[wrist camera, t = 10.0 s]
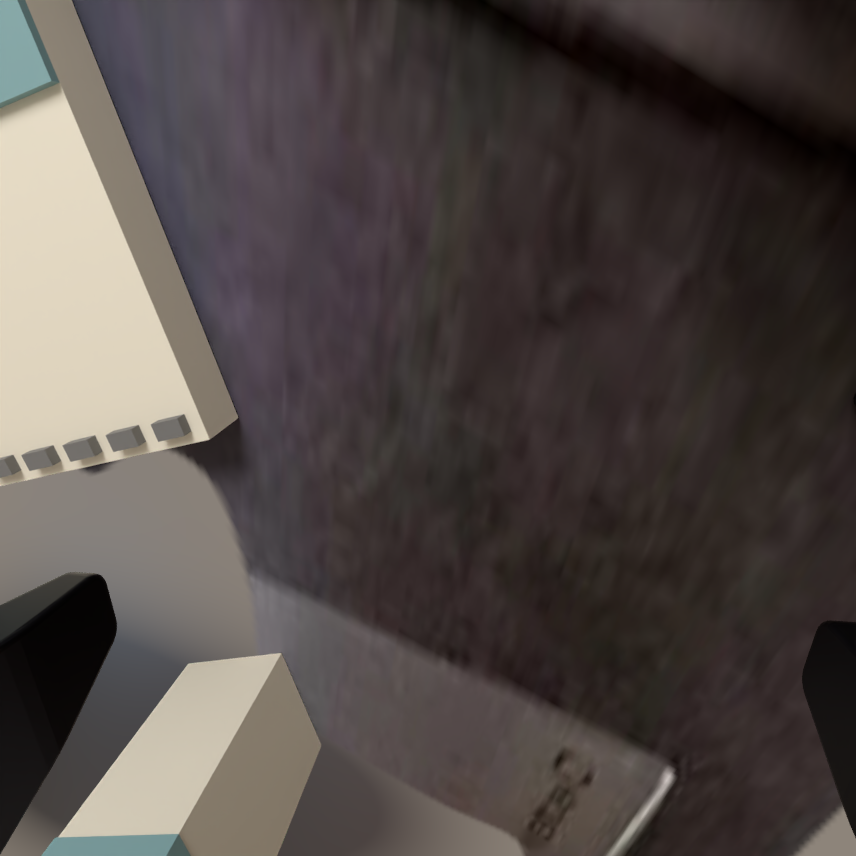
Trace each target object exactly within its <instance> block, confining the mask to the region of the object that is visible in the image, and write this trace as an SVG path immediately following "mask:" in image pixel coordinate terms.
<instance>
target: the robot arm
mask: <svg viewBox="0 0 856 856" xmlns="http://www.w3.org/2000/svg"><path fill="white" fill-rule="evenodd" d="M854 404H855V406H856V394H855V397H854ZM116 631H117V622H116V617H115V613H114V610H113V606H112V602H111V599H110V595H109V591H108V588H107V584H106V581H105V580H104V578H103V577H102V576H101V575H98V574H95V573H80V572H79V573H78V572H70V573H66V574H64V575H62V576H60V577H58V578H56V579H54V580H51V581H49V582H47V583H45V584H43V585H41V586H39V587H37V588H35V589H33V590H31V591H29V592H27V593H25V594H23V595H21V596H18V597H16V598H15V599H12V600H10V601H8V602H7V603H4V604H2V605H0V854H1V852H2V850H3V849H4V847H5V846H6V844H7V842H8V841H9V839H10V837H11V835H12V834H13V832H14V830H15V829H16V827H17V825H18V824H19V822H20V820H21V818H22V817H23V815H24V814H25V812H26V810H27V809H28V807H29V805H30V804H31V802H32V800H33V798H34V797H35V795H36V793H37V792H38V790H39V788H40V787H41V785H42V783H43V781H44V780H45V778H46V777H47V775H48V773H49V772H50V770H51V768H52V766H53V764H54V763H55V761H56V759H57V757H58V756H59V754H60V752H61V750H62V748H63V746H64V744H65V742H66V740H67V738H68V736H69V735H70V732H71V730H72V728H73V726H74V724H75V722H76V720H77V717H78V715H79V714H80V712H81V709H82V707H83V705H84V703H85V701H86V699H87V697H88V695H89V693H90V690H91V688H92V686H93V684H94V682H95V680H96V678H97V676H98V674H99V672H100V669H101V667H102V665H103V663H104V661H105V659H106V657H107V655H108V653H109V651H110V648H111V646H112V644H113V642H114V639H115V636H116ZM802 683H803V689H804V693H805V696H806V699H807V702H808V705H809V708H810V711H811V714H812V717H813V720H814V723H815V726H816V729H817V731H818V734H819V737H820V740H821V743H822V746H823V749H824V752H825V755H826V758H827V761H828V764H829V767H830V770H831V773H832V776H833V778H834V781H835V784H836V787H837V790H838V793H839V796H840V799H841V802H842V804H843V807H844V810H845V812H846V815H847V818H848V820H849V823H850V825H851V828H852V830H853V833H854V835H855V837H856V622H843V621H826V622H823V623H822V624H821V625H820V626H819V627H818V629H817V631H816V634H815V637H814V640H813V643H812V646H811V649H810V651H809V654H808V657H807V660H806V663H805V666H804V669H803V675H802Z"/></svg>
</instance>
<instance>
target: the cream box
mask: <svg viewBox="0 0 856 856" xmlns="http://www.w3.org/2000/svg"><path fill="white" fill-rule="evenodd" d="M320 748H321V743H320V741H319V738H318V736H317V734H316V731H315V729H314V727H313V724H312V722H311V720H310V718H309V715H308V713H307V711H306V708H305V706H304V704H303V701H302V699H301V697H300V695H299V692H298V690H297V688H296V685H295V683H294V681H293V678H292V676H291V674H290V672H289V669H288V667H287V665H286V662H285V660H284V658H283V655H282V653H277V654H269V655H260V656H251V657H243V658H234V659H226V660H217V661H209V662H199V663H190V664H188V665H187V666H186V668H185V669H184V670H183V672H182V673H181V674H180V676H179V677H178V678H177V680H176V681H175V682H174V684H173V685H172V686H171V688H170V689H169V690H168V692H167V693H166V694H165V696H164V697H163V698H162V700H161V701H160V702H159V704H158V705H157V707H156V708H155V709H154V710H153V712H152V713H151V714H150V716H149V717H148V718H147V720H146V721H145V722H144V724H143V725H142V726H141V728H140V729H139V730H138V732H137V733H136V734H135V736H134V737H133V738H132V740H131V741H130V742H129V744H128V745H127V746H126V748H125V749H124V750H123V752H122V753H121V754H120V756H119V757H118V758H117V760H116V761H115V762H114V764H113V765H112V766H111V768H110V769H109V770H108V772H107V773H106V774H105V776H104V777H103V778H102V780H101V781H100V782H99V784H98V785H97V786H96V788H95V789H94V790H93V792H92V793H91V794H90V796H89V797H88V798H87V800H86V801H85V802H84V804H83V805H82V806H81V808H80V809H79V810H78V812H77V813H76V815H75V816H74V817H73V818H72V820H71V821H70V822H69V824H68V825H67V826H66V828H65V829H64V830H63V832H62V833H61V835H60V836H59V837H57V838H55V839H54V840H53V841H52V843H51V844H50V845H49V847H48V848H47V850H46V851H45V852H44V853H43V854H42V856H277V855H278V852H279V849H280V847H281V845H282V842H283V840H284V837H285V835H286V832H287V830H288V827H289V825H290V822H291V820H292V818H293V815H294V813H295V810H296V808H297V805H298V802H299V800H300V798H301V795H302V792H303V790H304V788H305V785H306V783H307V780H308V778H309V775H310V773H311V770H312V768H313V765H314V763H315V760H316V758H317V756H318V753H319V750H320Z"/></svg>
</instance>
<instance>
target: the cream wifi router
mask: <svg viewBox="0 0 856 856" xmlns="http://www.w3.org/2000/svg"><path fill="white" fill-rule="evenodd" d="M236 419H238V415H237V413H236V410H235V408H234V405H233V403H232V400H231V398H230V395H229V393H228V390H227V388H226V385H225V383H224V380H223V378H222V375H221V373H220V370H219V368H218V365H217V363H216V360H215V358H214V355H213V353H212V350H211V348H210V345H209V343H208V340H207V338H206V335H205V333H204V330H203V328H202V325H201V323H200V320H199V318H198V315H197V313H196V310H195V308H194V305H193V303H192V300H191V298H190V295H189V293H188V290H187V288H186V285H185V283H184V280H183V278H182V275H181V273H180V270H179V268H178V265H177V263H176V260H175V258H174V255H173V253H172V250H171V248H170V245H169V243H168V240H167V238H166V235H165V233H164V230H163V228H162V225H161V223H160V220H159V218H158V215H157V213H156V210H155V208H154V205H153V203H152V200H151V198H150V195H149V193H148V190H147V188H146V185H145V183H144V180H143V178H142V175H141V173H140V170H139V167H138V165H137V162H136V160H135V157H134V155H133V152H132V150H131V147H130V145H129V142H128V140H127V137H126V135H125V132H124V130H123V127H122V125H121V122H120V120H119V117H118V115H117V112H116V110H115V107H114V105H113V102H112V100H111V97H110V95H109V92H108V90H107V87H106V85H105V82H104V80H103V77H102V75H101V72H100V70H99V67H98V65H97V62H96V60H95V57H94V55H93V52H92V50H91V47H90V45H89V42H88V40H87V37H86V35H85V32H84V30H83V27H82V25H81V22H80V20H79V17H78V15H77V12H76V10H75V7H74V5H73V2H72V0H0V486H3V485H8V484H12V483H17V482H21V481H26V480H30V479H35V478H39V477H44V476H48V475H53V474H57V473H62V472H66V471H71V470H75V469H80V468H84V467H89V466H93V465H98V464H102V463H107V462H111V461H116V460H120V459H125V458H129V457H134V456H138V455H143V454H147V453H152V452H156V451H161V450H165V449H170V448H174V447H179V446H183V445H188V444H192V443H197V442H201V441H206V440H210V439H211V438H213V437H214V436H215V435H217V434H218V433H219V432H221V431H222V430H223V429H225V428H226V427H227V426H228V425H230V424H231V423H232V422H234V421H235V420H236Z"/></svg>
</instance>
